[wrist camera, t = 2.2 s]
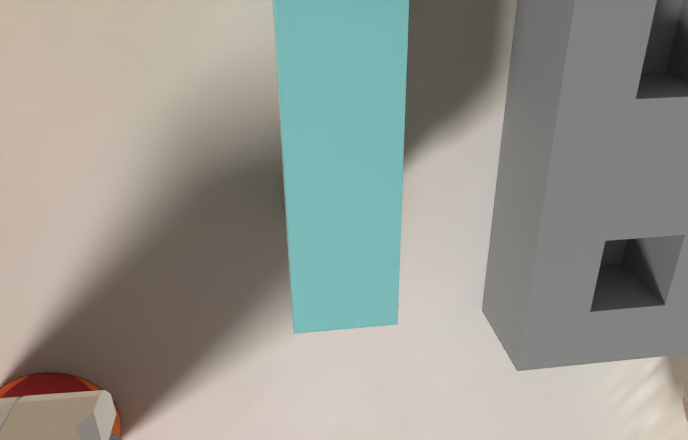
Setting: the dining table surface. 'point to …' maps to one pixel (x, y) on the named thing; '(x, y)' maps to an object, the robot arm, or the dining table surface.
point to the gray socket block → (592, 185)
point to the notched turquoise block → (342, 157)
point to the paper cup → (52, 388)
